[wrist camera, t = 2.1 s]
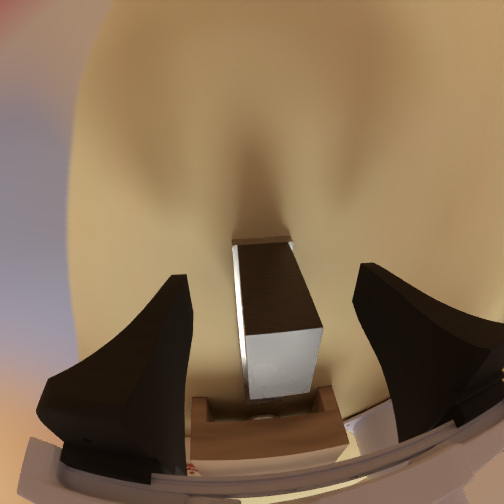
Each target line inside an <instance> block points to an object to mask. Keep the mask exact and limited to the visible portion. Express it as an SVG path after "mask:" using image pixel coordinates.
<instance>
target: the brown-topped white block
mask: <svg viewBox="0 0 504 504" xmlns="http://www.w3.org/2000/svg"><path fill="white" fill-rule="evenodd" d="M232 250H233V264H234V277H235V289H236V301H237V313H238V325H239V336H240V347H241V358H242V368H243V379H244V389H245V399H246V404H257V403H267V402H276V401H282V396H288V395H295V394H302V393H309V392H310V388H311V384H312V379H313V375H314V370H315V366H316V361H317V357H318V352H319V347H320V342H321V337H322V332H323V325H322V323H321V320H320V318H319V315H318V313H317V310H316V308H315V305H314V303H313V300H312V298H311V295H310V293H309V290H308V288H307V286H306V283H305V281H304V278H303V276H302V273H301V271H300V269H299V266H298V264H297V261H296V259H295V257H294V254H293V240H292V238H291V236H281V237H265V238H249V239H234V240H232Z"/></svg>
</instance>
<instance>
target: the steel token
mask: <svg viewBox="0 0 504 504" xmlns="http://www.w3.org/2000/svg"><path fill="white" fill-rule="evenodd" d="M275 418H281V417H279V416H277V415H272V414H262V415H256V416H252V417H249V418H247V419H246V420H244V421H252V420H264V419H275Z"/></svg>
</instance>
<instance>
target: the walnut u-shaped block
mask: <svg viewBox="0 0 504 504" xmlns="http://www.w3.org/2000/svg"><path fill="white" fill-rule="evenodd" d="M348 445H349V440H348V437H347V433H346V430H345V427H344V424H343V420H342V417H341V414H340V411H339V407H338V404H337V401H336V398H335V395H334V392H333V389H332V386H326V387H320V388H318V391H317V394H316V397H315V401H314V404H313V407H312V410H311V413H310V414H305V415H299V416H291V417H283V418H275V419H264V420H252V421H236V422H213V418H212V415H211V412H210V408H209V405H208V401H207V398H206V397H192V415H191V438H190V461H191V462H192V464H193V465H194V466H195V468H196V469H197V470H198V472H199V473H200V474H201V476H204V477H224V476H248V475H261V474H271V473H280V472H287V471H294V470H301V469H307V468H312V467H317V466H322V465H327V464H331V463H334V462H335V461H336V460H337V459H338V457H339V456H340V455H341V454H342V452H343V451H344V450H345V449H346V447H347V446H348Z"/></svg>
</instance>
